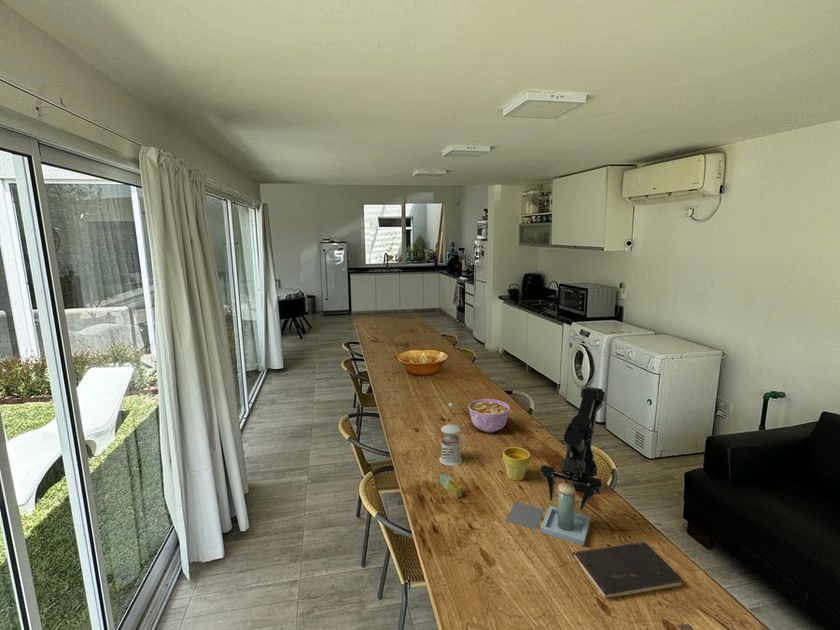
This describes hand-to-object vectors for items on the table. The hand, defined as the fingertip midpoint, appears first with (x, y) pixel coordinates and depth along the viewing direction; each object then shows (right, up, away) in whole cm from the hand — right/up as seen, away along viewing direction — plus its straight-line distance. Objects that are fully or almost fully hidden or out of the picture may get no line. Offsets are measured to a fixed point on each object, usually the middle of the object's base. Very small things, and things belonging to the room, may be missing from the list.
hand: (565, 505), depth 138 cm
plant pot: (-8, -3, +33) cm, 35 cm away
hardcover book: (+12, -12, -15) cm, 23 cm away
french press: (-32, -1, +46) cm, 56 cm away
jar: (+1, -8, +3) cm, 8 cm away
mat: (-11, -7, +9) cm, 16 cm away
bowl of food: (-12, +4, +76) cm, 77 cm away
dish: (+1, -8, +3) cm, 9 cm away
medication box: (-35, -5, +25) cm, 43 cm away
